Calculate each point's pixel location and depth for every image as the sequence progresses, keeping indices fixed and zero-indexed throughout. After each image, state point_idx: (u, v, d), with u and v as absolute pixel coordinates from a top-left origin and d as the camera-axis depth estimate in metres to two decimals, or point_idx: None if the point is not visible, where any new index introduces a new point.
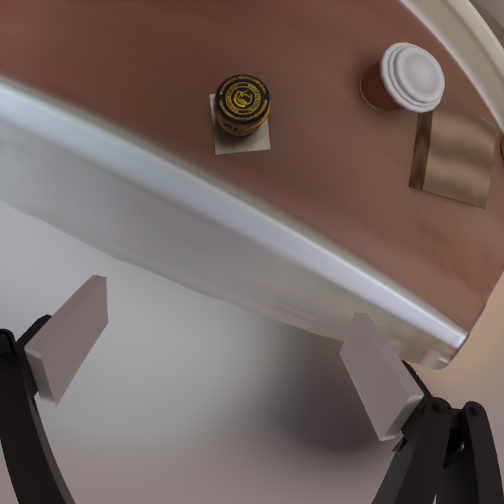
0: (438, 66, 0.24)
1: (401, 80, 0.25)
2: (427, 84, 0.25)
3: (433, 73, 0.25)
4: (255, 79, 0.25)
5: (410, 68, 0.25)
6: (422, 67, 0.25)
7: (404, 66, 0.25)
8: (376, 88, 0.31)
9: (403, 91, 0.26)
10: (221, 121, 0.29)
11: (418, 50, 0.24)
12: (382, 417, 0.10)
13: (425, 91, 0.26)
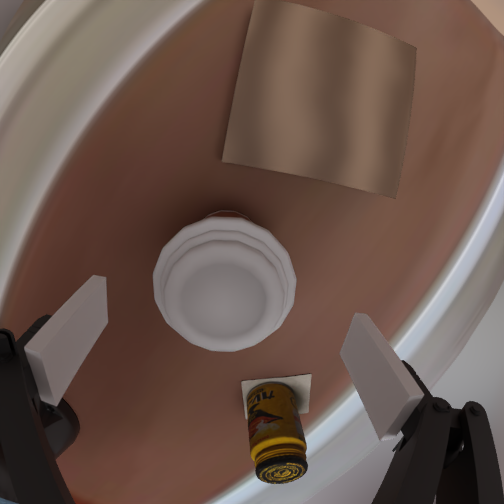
0: (193, 261, 0.16)
1: (249, 346, 0.18)
2: (243, 289, 0.17)
3: (213, 271, 0.17)
4: (263, 469, 0.23)
5: (218, 324, 0.18)
6: (208, 297, 0.17)
7: (218, 339, 0.18)
8: None
9: None
10: None
11: (172, 306, 0.17)
12: (382, 417, 0.10)
13: (261, 297, 0.17)
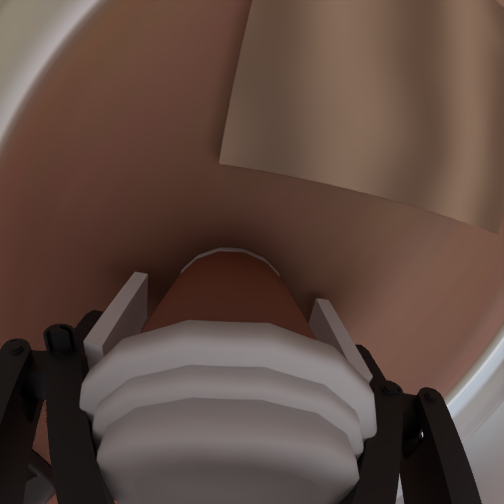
0: (142, 456, 0.05)
1: None
2: (272, 486, 0.06)
3: (198, 466, 0.05)
4: None
5: None
6: (193, 492, 0.06)
7: None
8: None
9: None
10: None
11: (120, 496, 0.05)
12: None
13: (309, 490, 0.06)
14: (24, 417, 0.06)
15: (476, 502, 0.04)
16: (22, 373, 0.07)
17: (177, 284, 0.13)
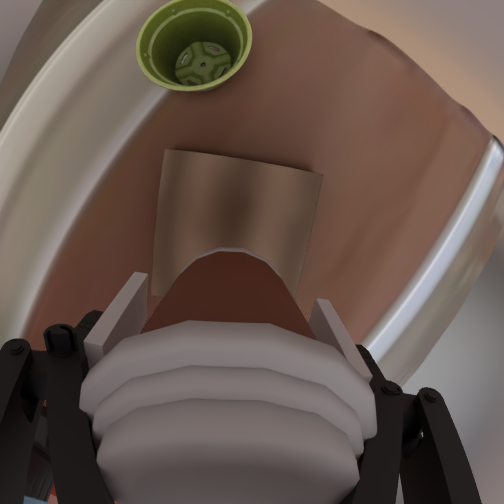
0: (142, 457, 0.05)
1: None
2: (272, 486, 0.06)
3: (198, 466, 0.05)
4: None
5: None
6: (193, 493, 0.06)
7: None
8: None
9: None
10: None
11: (120, 497, 0.05)
12: None
13: (309, 491, 0.06)
14: (24, 417, 0.06)
15: (476, 502, 0.04)
16: (22, 373, 0.07)
17: (177, 284, 0.13)
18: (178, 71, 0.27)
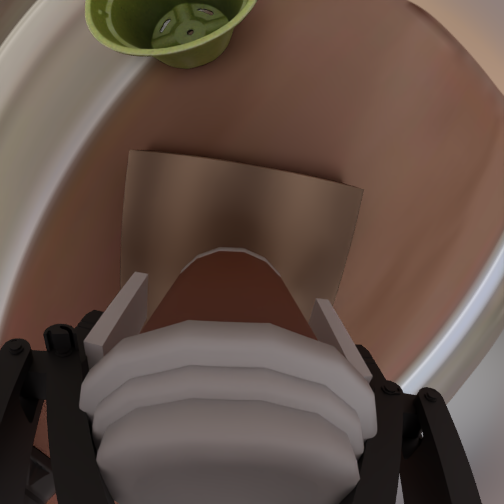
0: (142, 457, 0.05)
1: None
2: (272, 486, 0.06)
3: (198, 466, 0.05)
4: None
5: None
6: (193, 493, 0.06)
7: None
8: None
9: None
10: None
11: (120, 497, 0.05)
12: None
13: (309, 491, 0.06)
14: (24, 417, 0.06)
15: (476, 502, 0.04)
16: (22, 373, 0.07)
17: (177, 284, 0.13)
18: (155, 42, 0.17)
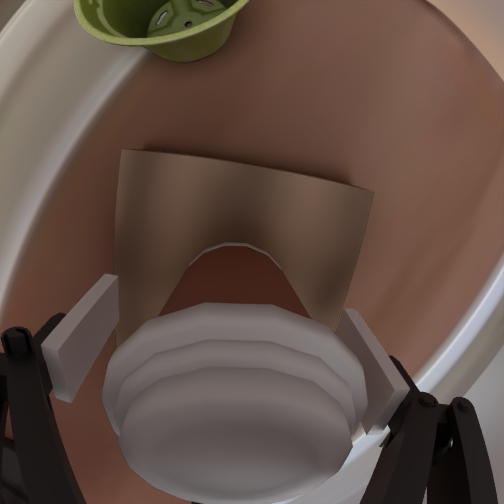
0: (166, 419, 0.06)
1: None
2: (276, 450, 0.07)
3: (213, 429, 0.07)
4: None
5: (226, 483, 0.08)
6: (206, 458, 0.07)
7: (228, 497, 0.08)
8: None
9: None
10: None
11: (140, 466, 0.07)
12: (369, 411, 0.10)
13: (308, 455, 0.07)
14: None
15: None
16: None
17: (187, 276, 0.14)
18: (151, 34, 0.16)
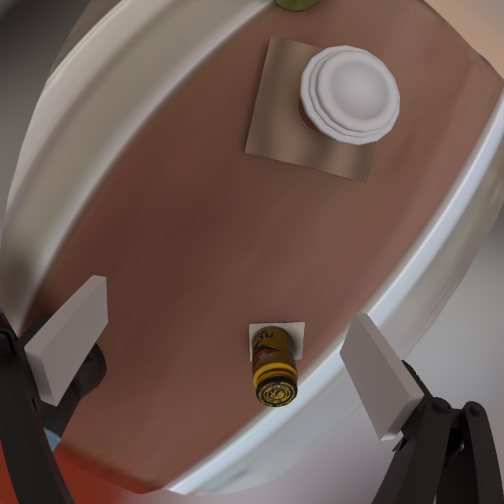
0: (342, 56, 0.19)
1: (376, 129, 0.21)
2: (373, 84, 0.20)
3: (353, 67, 0.19)
4: (262, 387, 0.34)
5: (355, 107, 0.20)
6: (350, 84, 0.20)
7: (355, 118, 0.21)
8: None
9: None
10: None
11: (324, 85, 0.20)
12: (382, 417, 0.10)
13: (384, 91, 0.20)
14: None
15: None
16: None
17: None
18: None
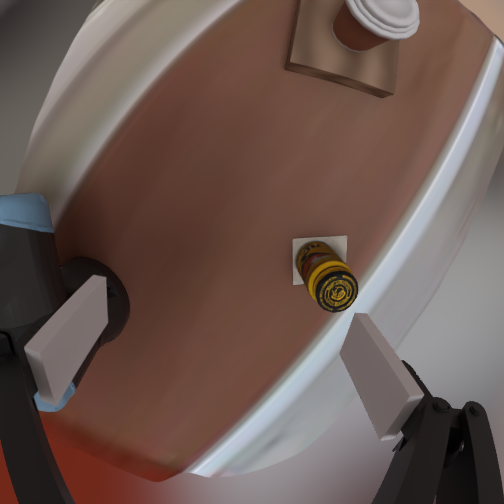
0: None
1: (407, 25, 0.20)
2: None
3: None
4: (323, 284, 0.33)
5: (389, 9, 0.20)
6: None
7: (391, 15, 0.20)
8: (383, 41, 0.26)
9: (411, 24, 0.21)
10: None
11: None
12: (382, 417, 0.10)
13: (407, 2, 0.20)
14: None
15: None
16: None
17: None
18: None
